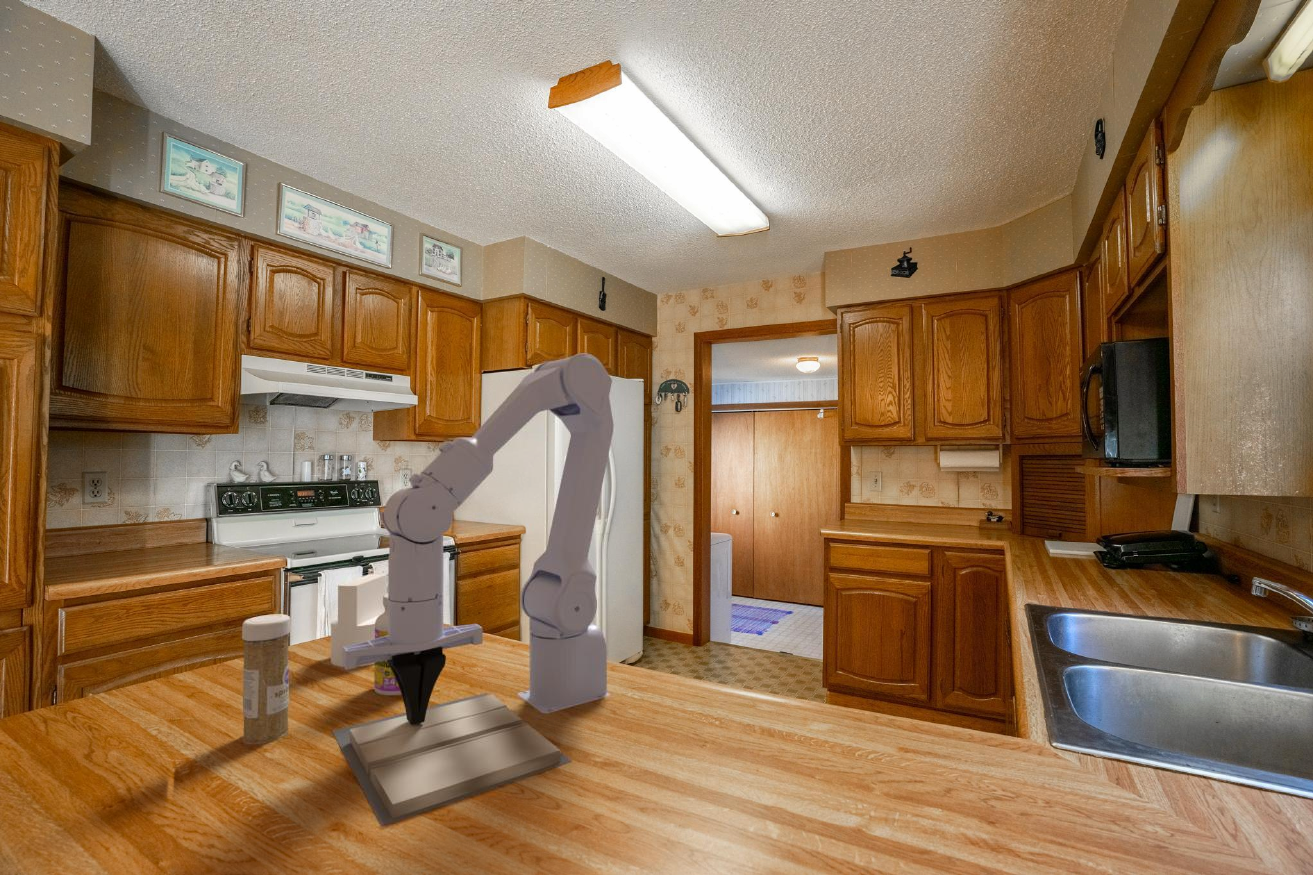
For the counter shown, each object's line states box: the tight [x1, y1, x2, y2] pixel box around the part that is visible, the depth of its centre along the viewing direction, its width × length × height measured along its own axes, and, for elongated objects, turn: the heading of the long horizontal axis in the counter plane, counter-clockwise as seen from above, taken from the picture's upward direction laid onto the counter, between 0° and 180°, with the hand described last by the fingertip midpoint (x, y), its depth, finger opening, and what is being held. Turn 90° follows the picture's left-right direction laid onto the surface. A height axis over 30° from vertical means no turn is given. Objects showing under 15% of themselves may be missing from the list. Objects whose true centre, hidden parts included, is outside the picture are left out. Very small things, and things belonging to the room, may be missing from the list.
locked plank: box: [371, 722, 561, 818], centre depth 61 cm, size 16×8×1 cm, turn 127°
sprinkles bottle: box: [241, 613, 291, 745], centre depth 70 cm, size 5×5×14 cm
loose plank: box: [350, 693, 523, 775], centre depth 69 cm, size 16×8×1 cm, turn 127°
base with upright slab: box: [330, 573, 388, 668], centre depth 98 cm, size 9×9×12 cm
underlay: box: [331, 692, 572, 827], centre depth 67 cm, size 18×22×1 cm
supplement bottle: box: [373, 592, 402, 696], centre depth 84 cm, size 7×7×13 cm
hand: (415, 720), depth 69 cm, fingers closed
